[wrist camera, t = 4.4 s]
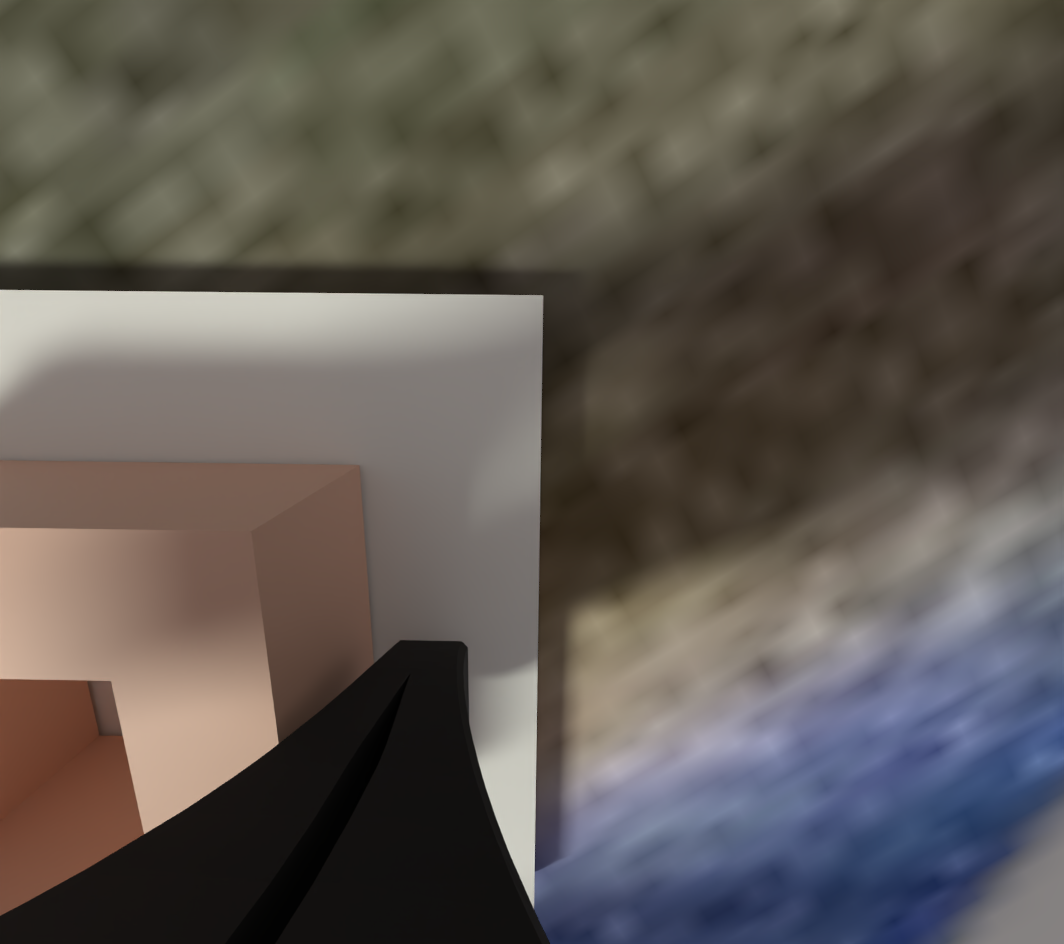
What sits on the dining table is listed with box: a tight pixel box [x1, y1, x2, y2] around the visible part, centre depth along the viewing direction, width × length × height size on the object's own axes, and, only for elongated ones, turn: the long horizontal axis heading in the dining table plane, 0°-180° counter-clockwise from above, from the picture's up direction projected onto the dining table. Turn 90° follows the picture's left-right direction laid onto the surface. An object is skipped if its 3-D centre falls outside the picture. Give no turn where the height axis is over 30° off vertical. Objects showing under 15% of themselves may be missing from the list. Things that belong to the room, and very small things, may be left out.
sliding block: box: [0, 460, 374, 915], centre depth 8 cm, size 8×8×4 cm
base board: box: [0, 290, 543, 908], centre depth 9 cm, size 14×18×5 cm
